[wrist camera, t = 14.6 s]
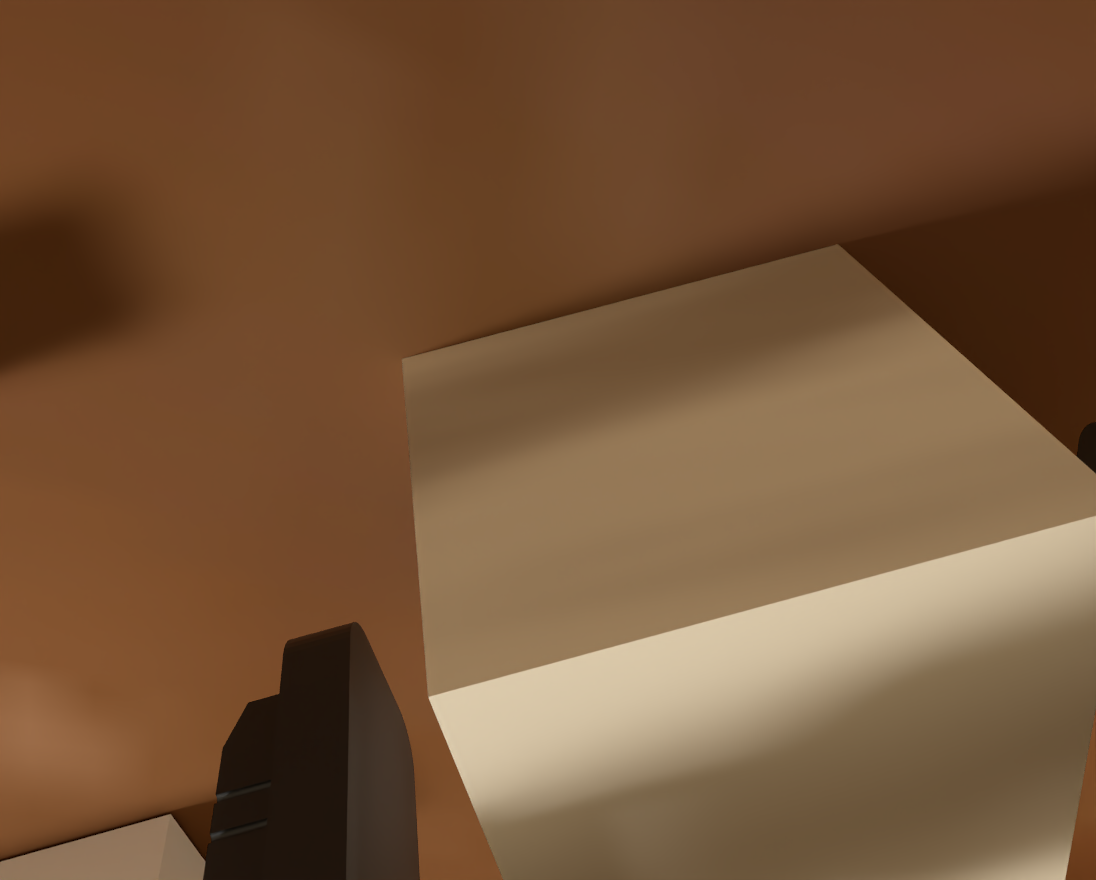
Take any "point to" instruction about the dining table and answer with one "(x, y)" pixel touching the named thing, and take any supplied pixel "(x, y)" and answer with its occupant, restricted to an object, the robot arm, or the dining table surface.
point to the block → (753, 590)
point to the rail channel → (115, 856)
